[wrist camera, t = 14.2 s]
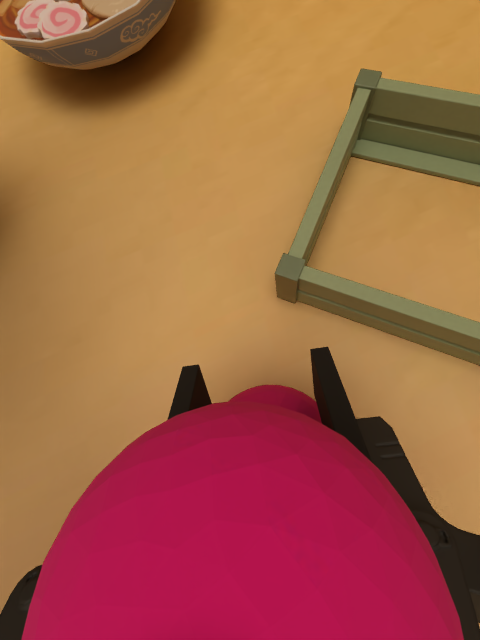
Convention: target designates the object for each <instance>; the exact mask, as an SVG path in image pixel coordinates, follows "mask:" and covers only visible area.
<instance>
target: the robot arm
mask: <svg viewBox="0 0 480 640" xmlns="http://www.w3.org/2000/svg"><path fill="white" fill-rule="evenodd" d="M310 351H311V362H312V373H313V384H314V395H315V399H316V402H317V406H318V410H319V414H320V418H321V422H322V424H323V425H325V426H327V427H328V428H330V429H332V430H334V431H335V432H337V433H339V434H341V435H342V436H344V437H345V438H346V439H347V440H349V441H350V442H351V443H352V444H353V445H354V446H355V447H356V448H357V449H358V450H359V451H360V452H361V453H362V454H363V455H364V456H366V457H367V458H368V459H369V460H370V461H371V462H372V463H373V464H374V465H375V466H376V467H377V468H378V469H379V470H380V471H381V472H382V473H383V474H384V475H385V476H386V478H387V479H388V480H389V482H390V483H391V484H392V486H393V487H394V488H395V490H396V491H397V492H398V494H399V495H400V496H401V498H402V499H403V500H404V502H405V503H406V505H407V506H408V508H409V509H410V511H411V512H412V514H413V515H414V517H415V519H416V521H417V522H418V524H419V526H420V527H421V529H422V531H423V533H424V534H425V536H426V538H427V539H428V541H429V543H430V545H431V548H432V550H433V552H434V554H435V556H436V558H437V561H438V563H439V566H440V569H441V571H442V574H443V576H444V579H445V581H446V584H447V587H448V589H449V592H450V594H451V597H452V600H453V602H454V605H455V607H456V610H457V613H458V615H459V618H460V623H461V628H462V633H463V638H464V640H480V628H479V624H478V622H479V623H480V535H476V534H473V533H469V532H466V531H463V530H460V529H458V528H456V527H454V526H453V525H451V524H449V523H448V522H446V521H445V520H444V519H443V518H441V517H440V516H439V515H438V514H437V512H436V511H435V510H434V509H433V508H432V506H431V504H430V503H429V501H428V499H427V497H426V495H425V493H424V491H423V489H422V487H421V485H420V483H419V481H418V479H417V477H416V475H415V473H414V471H413V469H412V467H411V465H410V463H409V461H408V459H407V457H406V456H405V453H404V451H403V449H402V447H401V445H400V444H399V441H398V439H397V437H396V435H395V433H394V431H393V429H392V427H391V426H390V425H388V424H387V423H386V422H385V421H384V420H383V419H382V418H381V417H370V418H361V419H356V418H355V416H354V413H353V411H352V408H351V405H350V403H349V400H348V398H347V395H346V392H345V390H344V387H343V385H342V382H341V379H340V377H339V374H338V371H337V369H336V366H335V364H334V361H333V358H332V356H331V353H330V351H329V348H328V347H323V348H316V349H310ZM210 404H212V403H211V400H210V397H209V394H208V391H207V388H206V385H205V382H204V379H203V376H202V373H201V370H200V367H199V365H192V366H185V367H182V371H181V374H180V378H179V381H178V385H177V388H176V392H175V396H174V399H173V403H172V406H171V410H170V413H169V417H168V420H169V419H171V418H172V417H174V416H176V415H179V414H182V413H185V412H188V411H191V410H194V409H197V408H200V407H204V406H207V405H210ZM41 569H42V565H40V566H37V567H36V568H34V569H33V570H31V571H30V572H28V573H27V574H26V575H25V576H24V577H23V578H22V579H21V580H20V581H19V582H18V584H17V585H16V587H15V588H14V590H13V591H12V593H11V595H10V596H9V598H8V600H7V602H6V604H5V606H4V608H3V610H2V612H1V614H0V640H21V639H22V635H23V631H24V627H25V623H26V619H27V615H28V611H29V607H30V603H31V600H32V597H33V594H34V591H35V588H36V584H37V581H38V578H39V575H40V572H41Z"/></svg>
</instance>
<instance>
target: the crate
mask: <svg viewBox="0 0 480 640" xmlns="http://www.w3.org/2000/svg"><path fill="white" fill-rule="evenodd" d="M381 75H382V72H380V71H374V70H368V69H361V70H360V72H359V75H358V77H357V79H356V82H355V84H354V88H353V93H352V97H351V102H350V106H349V110H348V112H347V115H346V117H345V119H344V122H343V124H342V126H341V129H340V131H339V134H338V136H337V138H336V141H335V143H334V146H333V148H332V150H331V153H330V155H329V158H328V160H327V162H326V165H325V167H324V170H323V172H322V174H321V177H320V179H319V182H318V184H317V186H316V189H315V191H314V193H313V196H312V198H311V201H310V203H309V205H308V208H307V210H306V213H305V215H304V217H303V220H302V222H301V225H300V227H299V229H298V232H297V234H296V237H295V239H294V241H293V244H292V246H291V249H290V251H289V253H288V254H285V253H283V255H282V257H281V260H280V262H279V265H278V267H277V269H276V272H275V281H276V291H277V297H278V298H281V299H284V300H286V301H289V302H292V303H296V300H297V301H300V302H303V303H305V304H308V305H311V306H314V307H317V308H320V309H322V310H325V311H328V312H331V313H334V314H336V315H339V316H342V317H345V318H348V319H350V320H353V321H356V322H359V323H362V324H365V325H367V326H370V327H373V328H376V329H379V330H381V331H384V332H387V333H390V334H393V335H396V336H398V337H401V338H404V339H407V340H410V341H412V342H415V343H418V344H421V345H424V346H426V347H429V348H432V349H435V350H438V351H441V352H443V353H446V354H449V355H452V356H455V357H457V358H460V359H463V360H466V361H469V362H472V363H474V364H477V365H480V323H479V322H476V321H473V320H470V319H467V318H464V317H461V316H458V315H455V314H452V313H449V312H446V311H442V310H439V309H436V308H433V307H430V306H427V305H424V304H421V303H418V302H415V301H412V300H409V299H406V298H403V297H400V296H397V295H393V294H390V293H387V292H384V291H381V290H378V289H375V288H372V287H369V286H366V285H363V284H360V283H357V282H354V281H351V280H347V279H344V278H341V277H338V276H335V275H332V274H329V273H326V272H323V271H320V270H317V269H314V268H311V267H308V266H307V263H308V261H309V258H310V256H311V253H312V251H313V248H314V246H315V243H316V241H317V238H318V236H319V233H320V231H321V229H322V226H323V224H324V221H325V219H326V216H327V214H328V211H329V209H330V206H331V204H332V201H333V199H334V196H335V194H336V191H337V189H338V186H339V184H340V182H341V179H342V177H343V174H344V172H345V169H346V167H347V164H348V162H349V159H350V157H351V156H354V157H358V158H363V159H367V160H371V161H375V162H380V163H384V164H388V165H393V166H397V167H401V168H405V169H410V170H414V171H418V172H422V173H427V174H431V175H435V176H440V177H444V178H448V179H452V180H457V181H461V182H465V183H469V184H474V185H478V186H480V95H478V94H472V93H466V92H460V91H455V90H449V89H443V88H437V87H431V86H426V85H420V84H414V83H408V82H403V81H397V80H391V79H385V78H381Z"/></svg>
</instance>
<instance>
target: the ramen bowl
mask: <svg viewBox="0 0 480 640" xmlns="http://www.w3.org/2000/svg"><path fill="white" fill-rule="evenodd" d="M175 1H176V0H0V39H1V40H3V41H4V42H6V43H7V44H9V45H10V46H12V47H13V48H15V49H16V50H18V51H19V52H21V53H23V54H25V55H27V56H29V57H31V58H33V59H35V60H37V61H40V62H43V63H46V64H49V65H52V66H56V67H64V68H71V69H79V70H87V69H94V68H98V67H102V66H107V65H111V64H115V63H117V62H119V61H121V60H123V59H125V58H127V57H128V56H130V55H132V54H134V53H136V52H137V51H139V50H141V49H142V48H143V47H144V46H145V45H146V44H147V43H148V42H149V41H150V40H151V38H152V37H153V36H154V35H155V34H156V33H157V32H158V31H159V30H160V29H161V28H162V26H163V25H164V24H165V23H166V20H167V18H168V16H169V14H170V12H171V10H172V8H173V6H174V4H175Z"/></svg>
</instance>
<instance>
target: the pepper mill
mask: <svg viewBox="0 0 480 640" xmlns="http://www.w3.org/2000/svg"><path fill="white" fill-rule="evenodd" d="M21 640H464V638H463V633H462V628H461V623H460V618H459V615H458V613H457V610H456V607H455V605H454V602H453V600H452V597H451V594H450V592H449V589H448V587H447V584H446V581H445V579H444V576H443V574H442V571H441V569H440V566H439V563H438V561H437V558H436V556H435V554H434V552H433V550H432V548H431V545H430V543H429V541H428V539H427V538H426V536H425V534H424V533H423V531H422V529H421V527H420V526H419V524H418V522H417V521H416V519H415V517H414V515H413V514H412V512H411V511H410V509H409V508H408V506H407V505H406V503H405V502H404V500H403V499H402V498H401V496H400V495H399V494H398V492H397V491H396V490H395V488H394V487H393V486H392V484H391V483H390V482H389V480H388V479H387V478H386V476H385V475H384V474H383V473H382V472H381V471H380V470H379V469H378V468H377V467H376V466H375V465H374V464H373V463H372V462H371V461H370V460H369V459H368V458H367V457H366V456H364V455H363V454H362V453H361V452H360V451H359V450H358V449H357V448H356V447H355V446H354V445H353V444H352V443H351V442H350V441H349V440H347V439H346V438H345V437H344V436H342V435H341V434H339V433H337V432H335V431H334V430H332V429H330V428H328V427H327V426H325V425H323V424H322V422H321V418H320V414H319V410H318V406H317V402H316V401H314V400H313V399H312V398H311V397H309V396H307V395H306V394H304V393H303V392H300V391H298V390H296V389H293V388H290V387H286V386H281V385H262V386H256V387H253V388H250V389H247V390H245V391H243V392H241V393H239V394H238V395H236V396H234V397H233V398H232V399H231V400H229V401H228V402H223V403H213V404H210V405H207V406H204V407H200V408H197V409H194V410H191V411H188V412H185V413H182V414H179V415H176V416H174V417H172V418H171V419H169V420H167V421H165V422H163V423H161V424H160V425H158V426H156V427H154V428H152V429H151V430H149V431H147V432H145V433H144V434H143V435H141V436H140V437H139V438H137V439H136V440H135V441H133V442H132V443H131V444H129V445H128V446H127V447H126V448H125V449H124V450H123V451H122V452H121V453H120V454H119V455H118V456H117V457H116V458H115V459H114V460H113V461H112V462H111V463H110V464H109V465H108V466H107V467H105V468H104V469H103V470H102V471H101V472H100V473H99V474H98V475H97V476H96V477H95V479H94V480H93V481H92V483H91V484H90V485H89V487H88V488H87V489H86V491H85V492H84V493H83V495H82V496H81V497H80V498H79V500H78V501H77V502H76V504H75V505H74V506H73V508H72V509H71V511H70V513H69V515H68V517H67V518H66V520H65V522H64V524H63V526H62V528H61V530H60V532H59V533H58V535H57V537H56V539H55V541H54V543H53V545H52V547H51V548H50V550H49V552H48V554H47V556H46V558H45V560H44V562H43V565H42V569H41V572H40V575H39V578H38V581H37V584H36V588H35V591H34V594H33V597H32V600H31V603H30V607H29V611H28V615H27V619H26V623H25V627H24V631H23V635H22V639H21Z"/></svg>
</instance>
